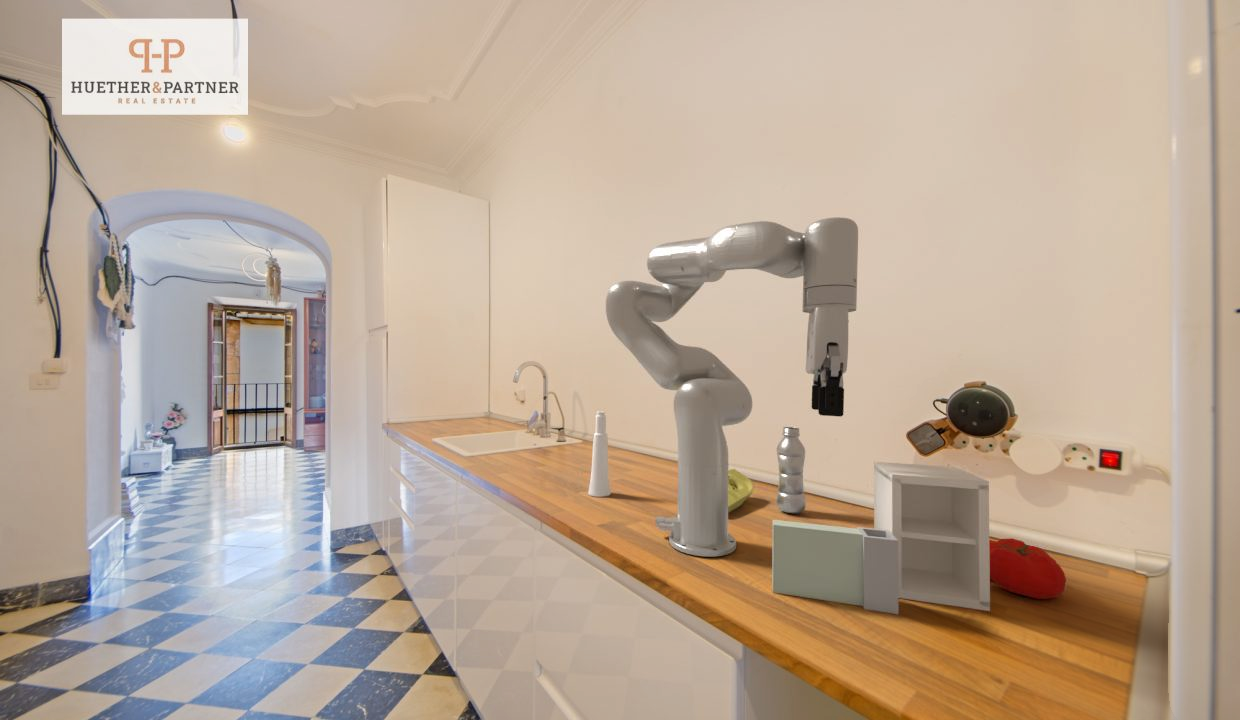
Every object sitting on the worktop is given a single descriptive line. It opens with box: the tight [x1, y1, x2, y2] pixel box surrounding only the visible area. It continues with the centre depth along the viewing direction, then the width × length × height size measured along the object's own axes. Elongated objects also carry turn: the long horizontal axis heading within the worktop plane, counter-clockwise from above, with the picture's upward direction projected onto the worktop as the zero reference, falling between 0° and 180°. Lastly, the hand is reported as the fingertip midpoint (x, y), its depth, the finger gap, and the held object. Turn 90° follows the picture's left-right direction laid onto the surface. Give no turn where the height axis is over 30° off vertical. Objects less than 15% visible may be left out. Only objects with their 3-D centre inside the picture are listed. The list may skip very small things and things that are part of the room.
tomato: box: [989, 538, 1067, 600], centre depth 68 cm, size 10×11×6 cm
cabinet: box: [873, 461, 991, 612], centre depth 66 cm, size 16×14×18 cm
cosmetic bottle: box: [587, 410, 612, 498], centre depth 117 cm, size 6×6×22 cm
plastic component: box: [728, 468, 756, 514], centre depth 110 cm, size 20×7×10 cm
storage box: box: [771, 519, 899, 615], centre depth 64 cm, size 16×4×10 cm, turn 73°
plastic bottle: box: [775, 426, 807, 514], centre depth 104 cm, size 6×7×20 cm
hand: (826, 412), depth 67 cm, fingers open, 9 cm apart
